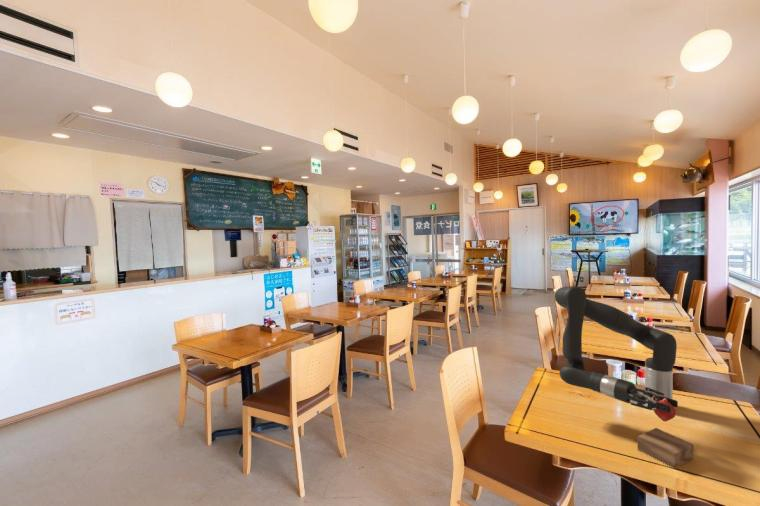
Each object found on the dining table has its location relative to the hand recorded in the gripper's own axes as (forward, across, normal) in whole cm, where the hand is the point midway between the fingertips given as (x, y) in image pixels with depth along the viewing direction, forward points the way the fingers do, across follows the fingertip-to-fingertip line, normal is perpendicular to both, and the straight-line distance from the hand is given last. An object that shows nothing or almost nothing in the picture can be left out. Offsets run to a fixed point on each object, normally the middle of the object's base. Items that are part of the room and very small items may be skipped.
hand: (674, 406), depth 117 cm
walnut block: (-2, 0, +18) cm, 18 cm away
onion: (-3, 0, +6) cm, 7 cm away
